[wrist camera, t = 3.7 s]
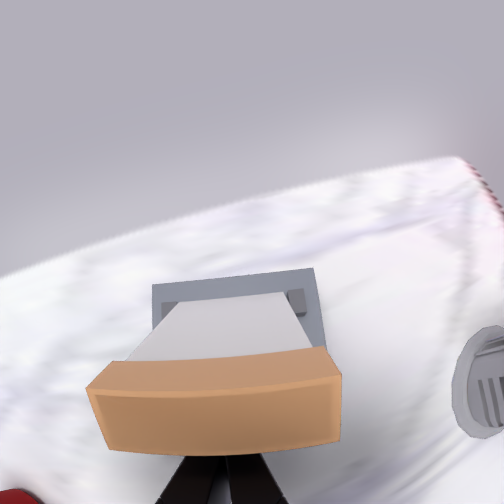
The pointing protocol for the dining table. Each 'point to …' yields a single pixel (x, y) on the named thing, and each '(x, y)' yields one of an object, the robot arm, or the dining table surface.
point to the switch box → (289, 282)
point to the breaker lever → (221, 383)
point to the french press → (480, 384)
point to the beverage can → (16, 497)
